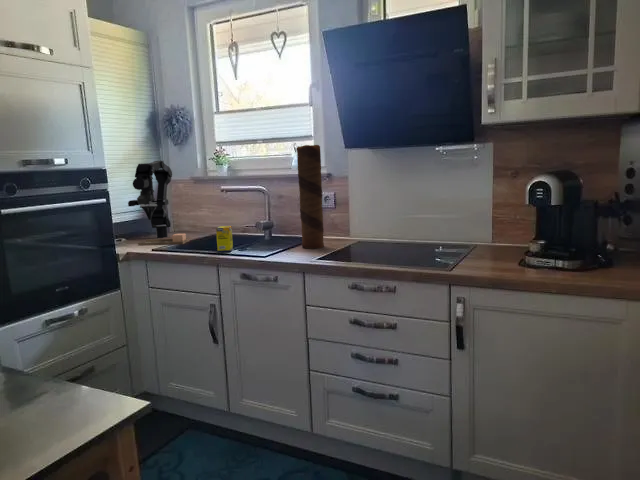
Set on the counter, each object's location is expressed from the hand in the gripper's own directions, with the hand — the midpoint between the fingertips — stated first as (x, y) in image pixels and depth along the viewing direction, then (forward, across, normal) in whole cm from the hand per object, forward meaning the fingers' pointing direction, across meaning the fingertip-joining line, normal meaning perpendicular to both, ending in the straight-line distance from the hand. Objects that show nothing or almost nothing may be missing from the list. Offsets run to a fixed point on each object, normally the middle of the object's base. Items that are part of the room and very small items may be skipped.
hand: (149, 219), depth 262 cm
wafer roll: (+12, +84, -26) cm, 89 cm away
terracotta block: (+11, +17, -7) cm, 21 cm away
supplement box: (+12, +45, -30) cm, 55 cm away
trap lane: (+12, +9, -7) cm, 17 cm away
